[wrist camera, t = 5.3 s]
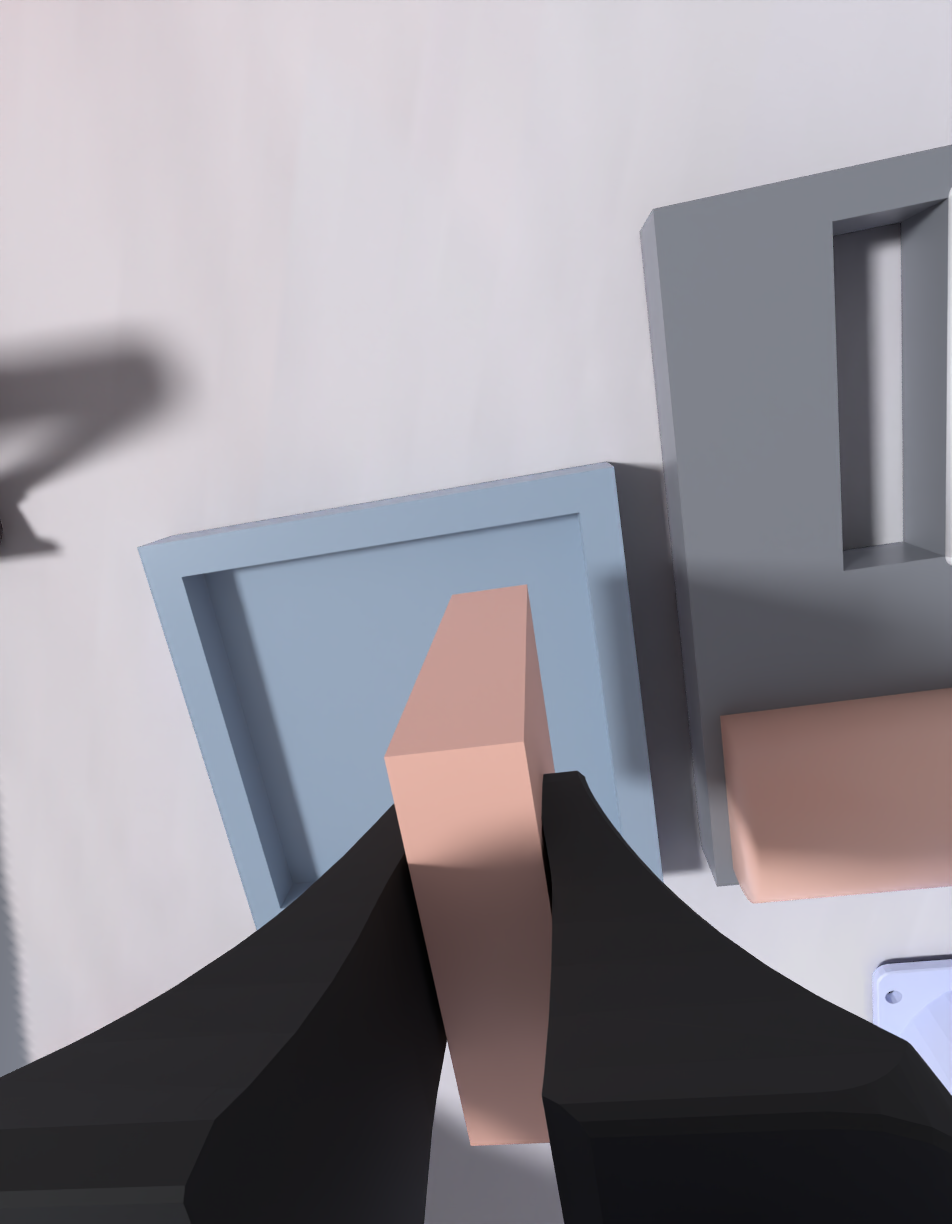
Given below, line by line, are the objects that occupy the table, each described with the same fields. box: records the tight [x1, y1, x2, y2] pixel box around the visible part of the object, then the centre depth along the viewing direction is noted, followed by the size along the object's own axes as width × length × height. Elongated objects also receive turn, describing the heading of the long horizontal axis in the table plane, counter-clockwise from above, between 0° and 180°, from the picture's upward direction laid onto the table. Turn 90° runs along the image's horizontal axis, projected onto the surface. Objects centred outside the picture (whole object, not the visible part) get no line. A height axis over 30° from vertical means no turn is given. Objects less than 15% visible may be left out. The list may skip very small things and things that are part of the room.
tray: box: [137, 462, 663, 930], centre depth 21 cm, size 13×13×2 cm
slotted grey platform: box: [640, 145, 952, 903], centre depth 17 cm, size 18×10×5 cm, turn 10°
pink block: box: [384, 584, 555, 1146], centre depth 12 cm, size 6×2×7 cm, turn 9°
